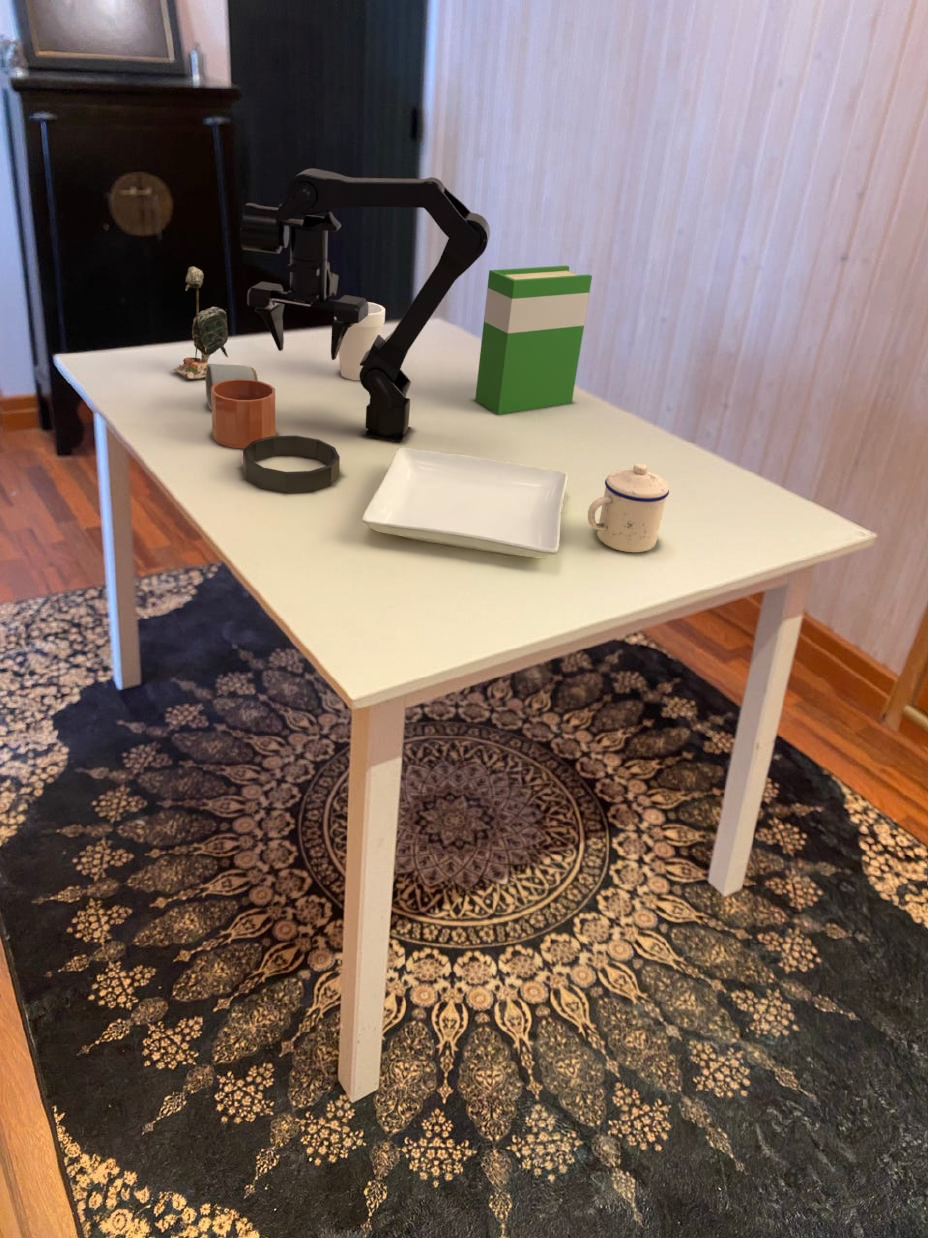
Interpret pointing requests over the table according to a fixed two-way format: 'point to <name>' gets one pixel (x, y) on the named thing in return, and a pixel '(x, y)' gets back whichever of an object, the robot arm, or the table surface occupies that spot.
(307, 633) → the table surface
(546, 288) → the hardback book
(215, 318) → the plant with pod
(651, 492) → the teacup with lid
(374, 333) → the foam cup
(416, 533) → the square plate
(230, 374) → the ceramic mug
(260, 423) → the terracotta cup
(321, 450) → the dark grey ring
